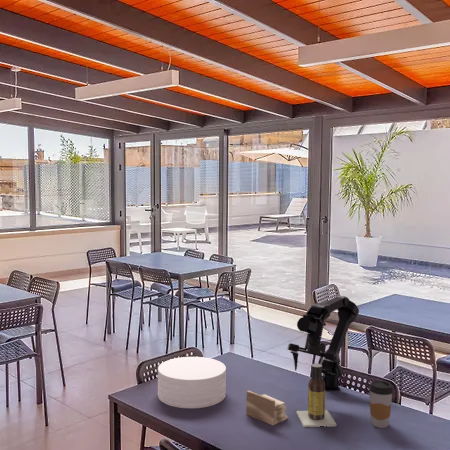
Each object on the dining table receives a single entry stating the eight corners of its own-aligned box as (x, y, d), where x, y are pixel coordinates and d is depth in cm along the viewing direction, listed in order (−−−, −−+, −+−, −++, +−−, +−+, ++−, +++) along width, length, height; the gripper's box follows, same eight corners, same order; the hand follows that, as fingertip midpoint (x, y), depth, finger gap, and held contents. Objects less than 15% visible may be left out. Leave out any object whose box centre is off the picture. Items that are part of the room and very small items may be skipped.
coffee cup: (392, 421, 195) (393, 381, 194) (391, 431, 187) (392, 390, 186) (368, 417, 198) (370, 378, 197) (367, 427, 190) (368, 386, 189)
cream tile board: (327, 412, 202) (327, 410, 202) (336, 426, 190) (336, 424, 190) (296, 413, 201) (296, 410, 201) (303, 427, 189) (303, 425, 189)
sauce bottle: (314, 412, 200) (315, 360, 199) (328, 417, 196) (329, 364, 195) (304, 417, 196) (305, 364, 194) (318, 422, 191) (319, 369, 190)
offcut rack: (261, 407, 206) (262, 385, 205) (287, 418, 196) (288, 394, 196) (246, 414, 199) (246, 391, 199) (272, 425, 190) (273, 401, 190)
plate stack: (185, 415, 199) (185, 385, 198) (144, 392, 220) (144, 365, 219) (239, 396, 217) (239, 369, 216) (197, 377, 238) (197, 352, 237)
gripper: (294, 329, 208) (285, 369, 205) (340, 340, 207) (333, 381, 204) (291, 329, 219) (283, 367, 216) (335, 340, 218) (328, 378, 215)
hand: (306, 373), depth 212 cm, fingers open, 9 cm apart
